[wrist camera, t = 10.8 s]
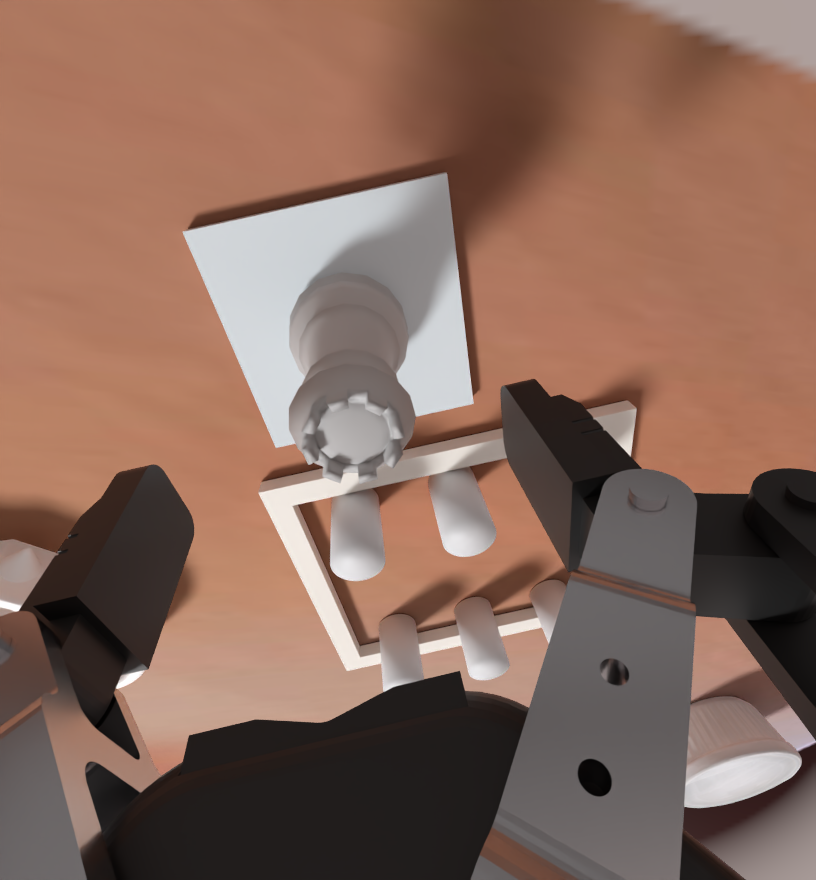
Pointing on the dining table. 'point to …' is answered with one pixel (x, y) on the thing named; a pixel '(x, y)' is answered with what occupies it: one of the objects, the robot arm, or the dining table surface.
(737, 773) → the ramekin
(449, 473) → the frame
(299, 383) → the tile
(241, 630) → the dining table surface
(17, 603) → the white holed part
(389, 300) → the rook chess piece
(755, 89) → the dining table surface
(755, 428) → the dining table surface
